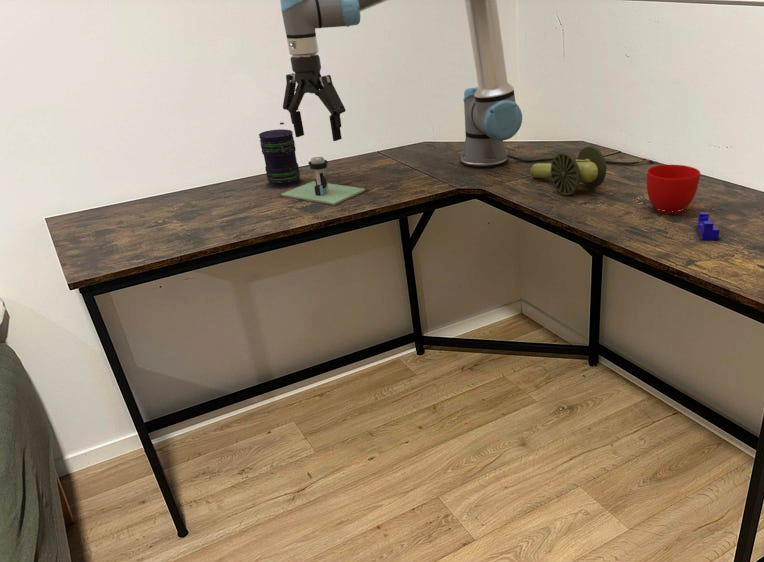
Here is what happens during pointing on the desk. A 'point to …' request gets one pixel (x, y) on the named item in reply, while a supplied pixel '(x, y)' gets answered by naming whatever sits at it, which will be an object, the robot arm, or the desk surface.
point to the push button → (319, 175)
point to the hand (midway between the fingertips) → (318, 138)
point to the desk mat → (332, 197)
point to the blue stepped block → (707, 227)
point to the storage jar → (280, 158)
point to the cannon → (573, 170)
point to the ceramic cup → (672, 187)
